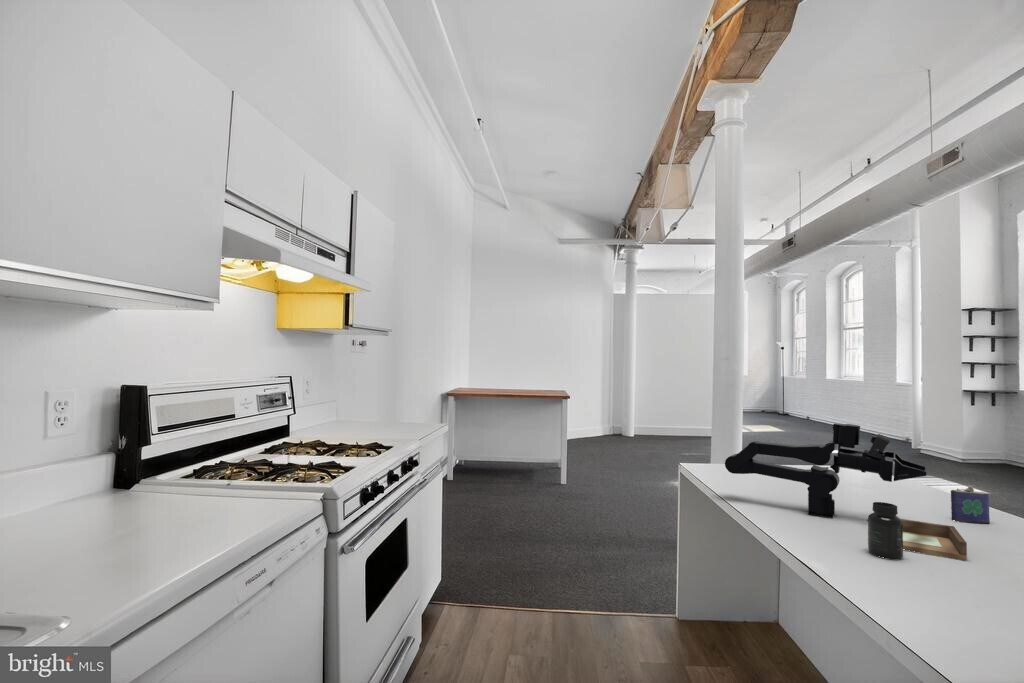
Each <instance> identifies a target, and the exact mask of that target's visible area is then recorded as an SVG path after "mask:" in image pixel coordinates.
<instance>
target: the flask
mask: <svg viewBox="0 0 1024 683" xmlns="http://www.w3.org/2000/svg"><path fill="white" fill-rule="evenodd" d="M975 488H976V487H975V486H973V485H967V488H960V489H959V488H956V489H951V490H950V503H951V504H950V505H951V506H950V510H951V521H953V520H955V521H954V522H957V521H960V522H959V523H964V524H965V523H966V524H967V523H968V524H979V525H983V524H984V525H989V524H990V522H991V521H990V520H991V518H990V494H989V493H988V492H985V491H975Z"/></svg>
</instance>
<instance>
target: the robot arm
mask: <svg viewBox="0 0 1024 683" xmlns="http://www.w3.org/2000/svg"><path fill="white" fill-rule="evenodd" d="M832 431H833V434H832V440H831V441H829V442H827V443H826V444H822V443H819V444H814V443H813V444H804V445H795V444H784V443H773V442H764V441H759V440H753V441H751V442H750V443H748V445H747V446H745V447H744V448H743V449H742V450H741V451H739V452H738V453H734V454H731V455H730V456H728V457H727V458H726V459H725V460H724V466H725V468H726V470H727V471H728V472H729V473H731V474H734V475H735V474H736V475H737V474H738V475H746V474H748V475H749V474H757V475H760V476H765V477H766V476H768V477H772V478H777V479H782V480H788V481H792V482H798V483H802V484H805V485H807V486H808V487H807V491H808V493H807V500H808V501H807V505H808V506H807V508H808V509H807V515H811V516H817V517H824V518H831V519H833V518H834V516H835V514H836V513H835V512H836V511H835V504H836V503H835V499H833V493H831V492H834V491H835V490H836V489H837V488H838V486H839V485H840V480H841V479H840V477H839V475H838V474H839V473H840V471H841V469H840V468H843V469H849V470H855V471H859V472H861V473H872V474H878V476H879V478H880V479H881V480H882V481H884V482H889V483H890V482H891V483H892V482H896V481H902V480H908V479H915V478H921V477H927V471H926V466H924V465H922V464H918V463H915V462H912V461H910V460H906V459H903V458H902V457H901V456H900V455H899V454H898V453H897V452H895V451H893V450H885V449H886V447H887V446H888V445H889V444H890V442H891V438H889V437H887V436H885V435H883V434H880V433H878V434H877V435H876V436H875V435H873V436H871V438H870V440H869V441H870V443H871V444H872V445H871V447H870V449H869V450H868V449H864V450H863V451H862V450H858V449H857V450H856V449H855V448H856V446H859V445H860V435H861V425H858V424H853V423H833V425H832ZM835 449H838V450H837V454H833V452H834V451H836V450H835ZM854 449H855V450H854ZM757 455H763V456H764V455H765V456H773V457H780V458H781V457H782V458H789V459H790V458H791V459H797V460H801V461H804V462H805V463H809V464H812V466H811V467H810V468H809V469H808V468H807V469H804V468H798V467H792V466H787V465H781V464H775V463H770V462H764V461H759V460H756V459H754V458H755V456H757ZM894 455H895V456H894ZM832 458H833V462H832V463H833V464H830V466H829V467H828V466H826V467H825V465H826V464H828V463H829V462H830V461H831V459H832ZM823 466H824V467H823Z"/></svg>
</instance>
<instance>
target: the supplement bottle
mask: <svg viewBox="0 0 1024 683" xmlns="http://www.w3.org/2000/svg"><path fill="white" fill-rule="evenodd" d="M872 511H873V512H872V513H870V514H868V515H867V550H868V552H869V554H871V553H872V554H874V555H873V556H875V555H876V556H875V557H877V556H880V557H884V558H883V559H885V558H890V559H889V560H891V559H899V560H902V559H903V558H904V550H903V522H902V520H901V519H902V518H900V517H899V516H897V515H898V514H899V512H898V505H896V504H893V503H889V502H881V501H874V502H872ZM872 554H871V555H872ZM880 557H879V558H880ZM901 558H902V559H901Z"/></svg>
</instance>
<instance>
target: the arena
mask: <svg viewBox="0 0 1024 683" xmlns="http://www.w3.org/2000/svg"><path fill="white" fill-rule="evenodd" d="M900 519H901V520H902V522H903V549H905V550H910V551H915V552H914V553H916V552H920V553H919V554H922V553H925V554H924V555H928V554H931V555H930V556H934V555H937V556H936V557H940V556H943V557H942V558H946V557H948V558H947V559H952V558H954V560H958V559H961V561H964V560H967V561H968V549H967V548H968V547H967V545H968V544H967V542H966V540H965V539H964V538H963V536H962V535H961V533H960V532H959V531H958V530H957V528H956V527H955V526H953V525H947V524H939V523H932V522H927V521H926V522H925V521H920V520H919V521H917V520H911V519H905V518H903V519H902V518H900ZM910 551H909V552H910Z"/></svg>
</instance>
